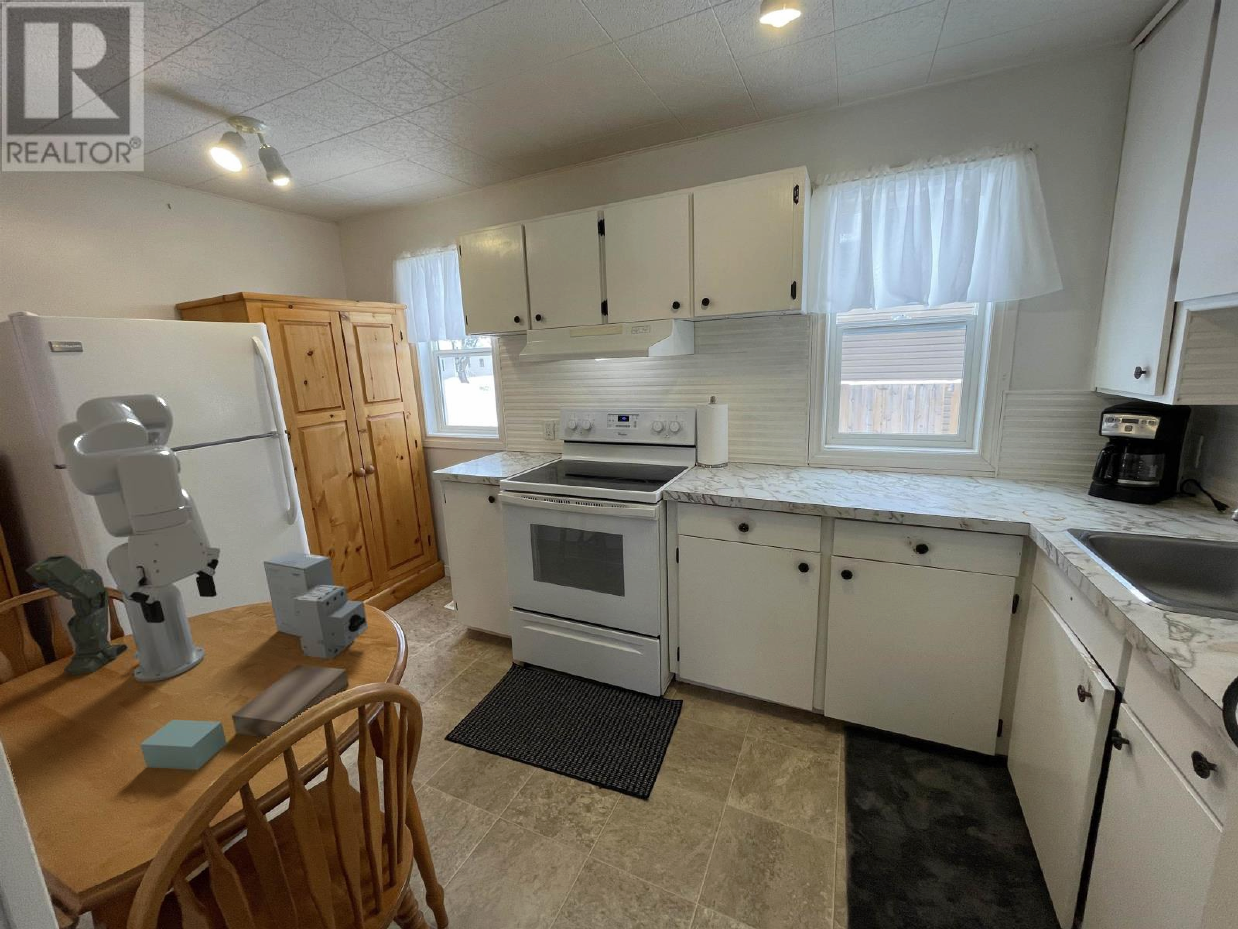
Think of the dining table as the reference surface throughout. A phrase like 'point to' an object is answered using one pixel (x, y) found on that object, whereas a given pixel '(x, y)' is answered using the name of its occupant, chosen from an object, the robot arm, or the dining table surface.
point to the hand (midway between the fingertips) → (183, 608)
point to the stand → (288, 699)
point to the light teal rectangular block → (183, 744)
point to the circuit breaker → (328, 620)
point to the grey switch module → (294, 584)
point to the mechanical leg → (80, 610)
